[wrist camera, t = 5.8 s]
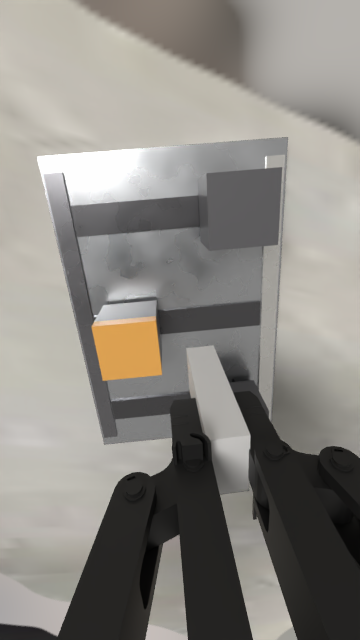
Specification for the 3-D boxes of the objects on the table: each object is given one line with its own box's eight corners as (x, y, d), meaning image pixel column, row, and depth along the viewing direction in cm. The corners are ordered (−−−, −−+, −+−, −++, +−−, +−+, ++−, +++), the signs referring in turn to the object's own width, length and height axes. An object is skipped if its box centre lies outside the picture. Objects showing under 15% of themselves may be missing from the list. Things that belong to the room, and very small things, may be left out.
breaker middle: (112, 351, 23) (102, 380, 20) (103, 305, 22) (91, 326, 18) (162, 347, 23) (162, 374, 20) (156, 300, 22) (155, 320, 18)
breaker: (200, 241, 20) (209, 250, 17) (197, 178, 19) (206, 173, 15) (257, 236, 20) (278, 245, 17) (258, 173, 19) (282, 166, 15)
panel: (107, 432, 29) (103, 446, 27) (45, 159, 20) (35, 156, 18) (265, 416, 29) (271, 428, 28) (279, 141, 20) (289, 136, 18)
